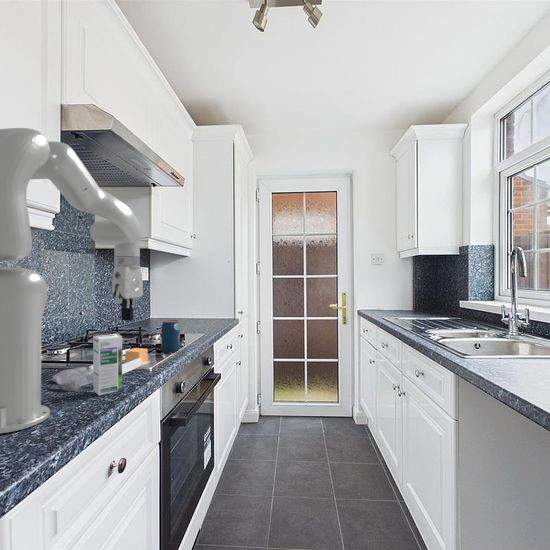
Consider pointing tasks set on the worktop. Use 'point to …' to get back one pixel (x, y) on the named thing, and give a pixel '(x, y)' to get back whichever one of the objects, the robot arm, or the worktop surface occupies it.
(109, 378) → the syrup box
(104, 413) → the worktop surface
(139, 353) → the orange block
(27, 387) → the robot arm
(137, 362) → the channel walls
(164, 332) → the soda can
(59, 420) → the worktop surface
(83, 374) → the stone block
